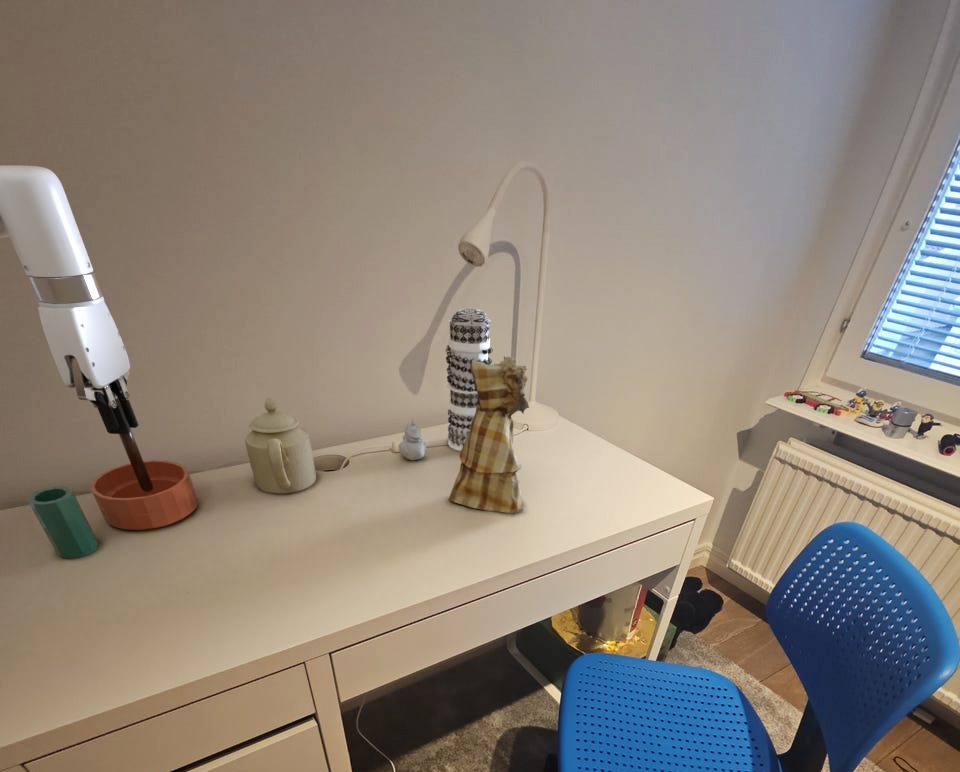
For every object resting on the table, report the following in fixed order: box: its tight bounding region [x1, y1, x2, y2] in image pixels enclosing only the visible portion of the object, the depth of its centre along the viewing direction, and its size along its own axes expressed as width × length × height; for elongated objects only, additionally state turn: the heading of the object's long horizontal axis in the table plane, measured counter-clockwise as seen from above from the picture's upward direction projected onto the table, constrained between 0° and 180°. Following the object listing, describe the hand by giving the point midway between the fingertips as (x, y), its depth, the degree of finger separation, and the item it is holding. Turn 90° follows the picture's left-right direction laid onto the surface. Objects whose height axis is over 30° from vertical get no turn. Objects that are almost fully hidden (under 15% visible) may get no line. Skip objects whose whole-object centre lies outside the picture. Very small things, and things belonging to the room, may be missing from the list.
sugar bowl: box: [244, 397, 317, 495], centre depth 98 cm, size 15×11×15 cm
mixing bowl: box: [89, 459, 199, 531], centre depth 92 cm, size 14×14×6 cm
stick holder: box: [27, 486, 99, 560], centre depth 82 cm, size 5×5×9 cm
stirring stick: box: [112, 392, 153, 492], centre depth 86 cm, size 2×2×16 cm
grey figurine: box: [398, 419, 427, 461], centre depth 111 cm, size 5×7×8 cm
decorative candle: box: [445, 308, 494, 452], centre depth 112 cm, size 9×9×25 cm
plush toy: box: [447, 355, 530, 514], centre depth 94 cm, size 14×14×25 cm
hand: (123, 429), depth 85 cm, fingers closed on stirring stick, 1 cm apart
